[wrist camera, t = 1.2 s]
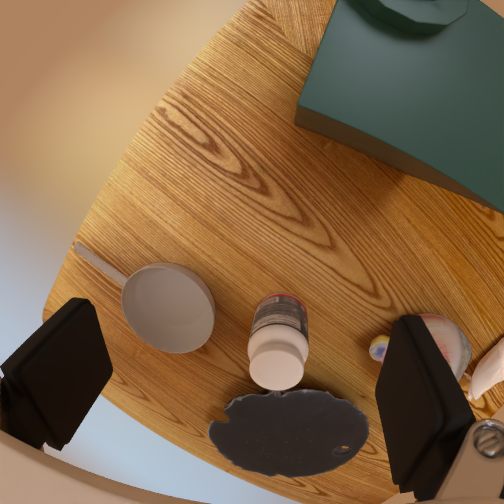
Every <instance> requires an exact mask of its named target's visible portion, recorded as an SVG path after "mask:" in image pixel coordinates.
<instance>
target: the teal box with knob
mask: <svg viewBox="0 0 504 504" xmlns="http://www.w3.org/2000/svg"><path fill="white" fill-rule="evenodd" d="M294 124H295V125H297V126H299V127H302V128H305V129H307V130H310V131H312V132H315V133H317V134H320V135H322V136H325V137H327V138H329V139H332V140H334V141H337V142H339V143H341V144H344V145H346V146H348V147H351V148H353V149H355V150H357V151H359V152H362V153H364V154H366V155H368V156H370V157H373V158H375V159H377V160H379V161H381V162H383V163H385V164H387V165H389V166H391V167H393V168H395V169H397V170H399V171H401V172H403V173H405V174H408V175H410V176H413V177H416V178H418V179H421V180H424V181H426V182H429V183H432V184H434V185H437V186H439V187H442V188H444V189H447V190H449V191H452V192H454V193H456V194H459V195H461V196H463V197H466V198H468V199H470V200H473V201H475V202H477V203H479V204H482V205H484V206H486V207H488V208H490V209H493V210H495V211H497V212H499V213H501V214H503V215H504V18H503V17H501V16H500V15H499V14H497V13H496V12H495V11H493V10H492V9H491V8H490V7H488V6H487V5H485V4H484V3H483V2H481V1H480V0H337V1H336V4H335V6H334V9H333V11H332V14H331V17H330V19H329V22H328V24H327V27H326V29H325V32H324V35H323V37H322V40H321V42H320V45H319V48H318V50H317V53H316V55H315V58H314V61H313V63H312V66H311V68H310V71H309V74H308V76H307V79H306V81H305V84H304V87H303V89H302V92H301V95H300V97H299V100H298V102H297V108H296V115H295V123H294Z"/></svg>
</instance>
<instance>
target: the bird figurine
mask: <svg viewBox="0 0 504 504" xmlns="http://www.w3.org/2000/svg"><path fill="white" fill-rule="evenodd" d="M464 375H465V376H466V377H467V379H468V380H469V382H470V384H469V388H468V399H469V401H471V399H472V398H473V397H474V398H475V400H478V399H479V397H480V396H481V395H482V394H483V393H484V392H485V391H487V390H488V389H490V388H491V387H492V386H493V385H494V384H496V383H498V382H501V381H503V380H504V337H503V338H502V339H501V340H500V341H499V342H498V343H497V345H495V346H494V347H493V348H492V349H491V350H490V351H489V352H488V353H487V354H486V355H485V356H484V357H483V358H482V359H481V360H480V361H479V363H478V365H477V367H476V369H475V371H474V373H473V376H472V377H471V376H470V375H468V374H467V373H465V372H464Z"/></svg>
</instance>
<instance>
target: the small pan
mask: <svg viewBox="0 0 504 504" xmlns="http://www.w3.org/2000/svg"><path fill="white" fill-rule="evenodd" d="M74 250H75V251H76V252H77V253H78V254H79V255H81V256H82V257H83V258H85V259H86V260H87V261H89V262H90V263H91V264H93V265H94V266H95V267H97V268H98V269H99V270H101V271H102V272H103V273H105V274H106V275H107V276H109V277H110V278H112V279H113V280H114V281H116V282H117V283H119V284H120V285H121V286H123V289H122V293H121V307H122V312H123V314H124V317H125V319H126V321H127V323H128V325H129V326H130V328H131V329H132V330H133V332H134V333H135V334H136V335H137V336H138V337H139V338H140V339H141V340H143V341H144V342H145V343H147V344H148V345H150V346H152V347H154V348H156V349H158V350H161V351H164V352H168V353H187V352H191V351H194V350H196V349H198V348H200V347H201V346H202V345H203V344H204V343H206V342H207V340H208V339H209V337H210V335H211V333H212V330H213V327H214V322H215V315H216V310H215V303H214V299H213V297H212V295H211V292H210V290H209V289H208V287H207V285H206V284H205V283H204V281H203V280H202V279H201V278H200V277H199V276H198V275H197V274H195V273H194V272H193V271H191V270H190V269H188V268H186V267H184V266H181V265H178V264H174V263H168V262H157V263H152V264H149V265H146V266H144V267H143V268H141V269H139V270H137V271H136V272H135V273H133V274H132V275H131V276H130V277H129V278H128V277H126V276H125V275H124V274H122V273H121V272H119V271H118V270H117V269H115V268H114V267H112V266H111V265H110V264H108V263H107V262H106V261H104V260H103V259H101V258H100V257H99V256H97V255H96V254H95V253H93V252H92V251H91V250H89V249H88V248H87V247H85V246H84V245H83V244H82V243H80V242H76V243H75V245H74Z"/></svg>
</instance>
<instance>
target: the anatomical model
mask: <svg viewBox="0 0 504 504" xmlns="http://www.w3.org/2000/svg"><path fill="white" fill-rule="evenodd" d="M417 315H420V316H421V317H422V319H423V321H424V322H425V324H426V326H427V328H428V329H429V331H430V333H431V335H432V336H433V338H434V340H435V342H436V343H437V345H438V347H439V349H440V351H441V353H442V354H443V356H444V358H445V359H446V360H447V362H448V364H449V366H450V367H451V369H452V371H453V373H454V375H455V377H456V379H457V381H458V382H459V380H460V379H461V378H462V377H463V375H464V372H465V370H466V368H467V366H468V364H469V362H470V358H471V346H470V343H469V341H468V339H467V337H466V336H465V334H464V333H463V331H462V330H461V329H460V327H459V326H458V325H457V324H455V323H454V322H453V321H451V320H450V319H448V318H446V317H443V316H441V315H437V314H431V313H423V314H417ZM389 339H390V336H386V335H378V336H377V337H375V338H374V339H373V341H372V343H371V346H370V349H369V354H370V356H371V358H372V359H374V360H376V361H380V362H381V363H382V364H383V361H384V357H385V354H386V350H387V346H388V342H389Z"/></svg>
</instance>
